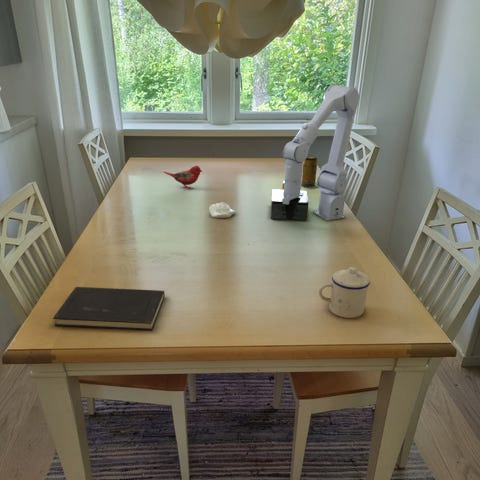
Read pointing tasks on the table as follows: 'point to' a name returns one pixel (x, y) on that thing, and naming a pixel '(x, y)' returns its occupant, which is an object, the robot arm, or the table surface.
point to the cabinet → (277, 198)
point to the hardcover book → (110, 308)
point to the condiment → (309, 172)
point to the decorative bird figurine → (187, 176)
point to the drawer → (281, 214)
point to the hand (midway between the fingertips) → (289, 218)
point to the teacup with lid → (347, 293)
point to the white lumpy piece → (221, 210)
